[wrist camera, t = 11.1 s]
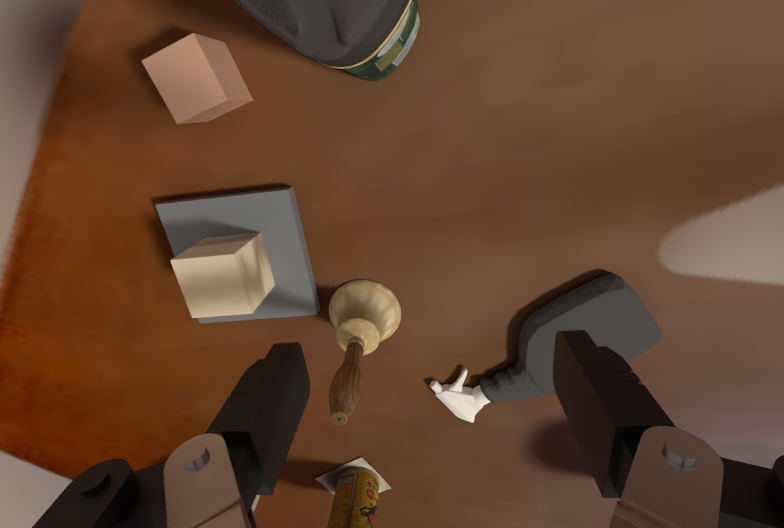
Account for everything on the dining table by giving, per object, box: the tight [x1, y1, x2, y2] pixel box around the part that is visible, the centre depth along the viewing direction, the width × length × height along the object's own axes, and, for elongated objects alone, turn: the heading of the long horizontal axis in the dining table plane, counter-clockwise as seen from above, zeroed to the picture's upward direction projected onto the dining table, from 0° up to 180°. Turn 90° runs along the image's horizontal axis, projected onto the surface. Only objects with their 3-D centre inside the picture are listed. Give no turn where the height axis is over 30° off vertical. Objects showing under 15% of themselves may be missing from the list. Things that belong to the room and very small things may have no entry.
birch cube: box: [170, 232, 275, 318], centre depth 37 cm, size 6×6×6 cm
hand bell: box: [329, 280, 401, 425], centre depth 35 cm, size 8×8×16 cm
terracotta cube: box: [142, 33, 253, 124], centre depth 32 cm, size 5×5×5 cm
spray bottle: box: [430, 274, 661, 423], centre depth 42 cm, size 3×11×24 cm
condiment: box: [315, 457, 391, 528], centre depth 49 cm, size 7×8×12 cm
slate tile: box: [155, 186, 321, 323], centre depth 40 cm, size 14×14×2 cm
